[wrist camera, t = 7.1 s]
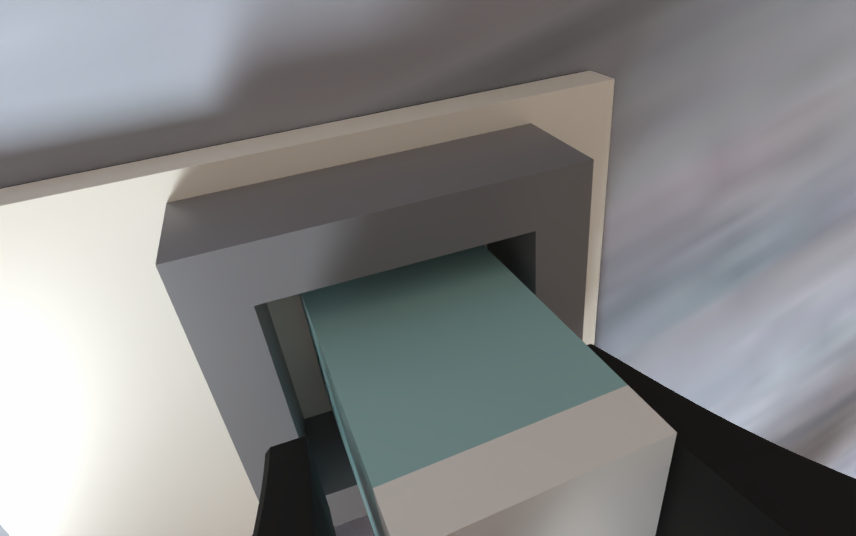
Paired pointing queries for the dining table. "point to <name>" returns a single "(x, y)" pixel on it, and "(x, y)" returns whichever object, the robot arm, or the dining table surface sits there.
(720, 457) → the robot arm
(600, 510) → the block
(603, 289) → the dining table surface
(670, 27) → the dining table surface
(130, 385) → the outlet plate
